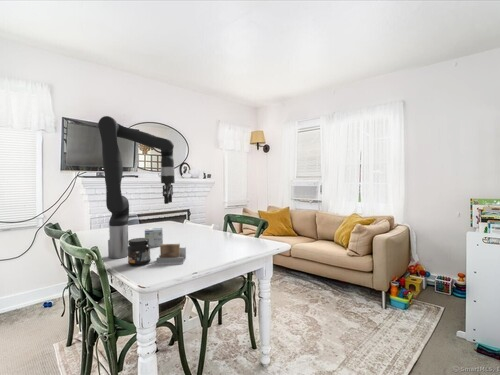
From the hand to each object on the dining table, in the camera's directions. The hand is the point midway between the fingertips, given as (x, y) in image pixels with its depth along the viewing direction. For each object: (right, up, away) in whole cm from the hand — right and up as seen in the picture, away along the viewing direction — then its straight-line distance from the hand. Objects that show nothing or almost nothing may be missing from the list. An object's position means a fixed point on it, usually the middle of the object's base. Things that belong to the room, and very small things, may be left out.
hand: (168, 203), depth 158 cm
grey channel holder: (+7, -29, -20) cm, 36 cm away
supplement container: (-8, -29, -22) cm, 37 cm away
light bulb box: (-14, -28, +15) cm, 35 cm away
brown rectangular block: (+7, -28, -20) cm, 35 cm away
